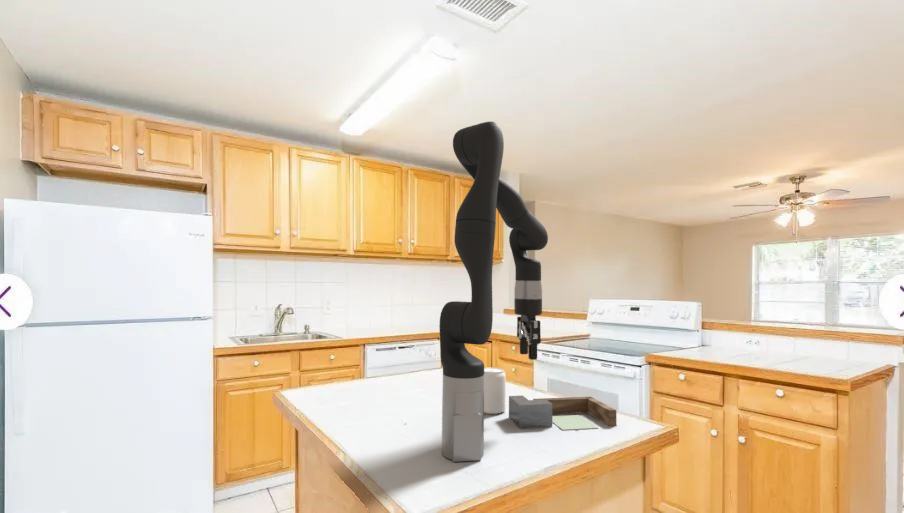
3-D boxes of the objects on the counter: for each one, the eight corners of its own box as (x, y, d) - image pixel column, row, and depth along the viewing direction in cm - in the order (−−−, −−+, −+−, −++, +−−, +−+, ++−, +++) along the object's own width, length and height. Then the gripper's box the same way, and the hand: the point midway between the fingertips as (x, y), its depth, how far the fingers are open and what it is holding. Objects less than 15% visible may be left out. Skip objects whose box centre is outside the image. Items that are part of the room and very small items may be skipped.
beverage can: (506, 415, 126) (507, 372, 126) (478, 415, 126) (478, 372, 126) (504, 407, 134) (504, 367, 134) (477, 406, 134) (477, 366, 135)
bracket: (519, 428, 115) (519, 405, 115) (508, 417, 123) (508, 396, 124) (552, 426, 116) (552, 403, 117) (539, 416, 125) (539, 394, 125)
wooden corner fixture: (616, 425, 118) (616, 410, 118) (552, 428, 115) (552, 413, 115) (590, 410, 132) (590, 396, 132) (533, 412, 128) (533, 398, 129)
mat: (598, 428, 115) (598, 427, 115) (562, 430, 114) (562, 429, 114) (578, 415, 126) (578, 415, 126) (545, 417, 124) (545, 416, 124)
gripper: (550, 298, 116) (550, 361, 115) (533, 296, 130) (533, 352, 129) (522, 298, 115) (522, 361, 114) (508, 296, 129) (508, 352, 128)
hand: (528, 356), depth 121 cm, fingers open, 8 cm apart
